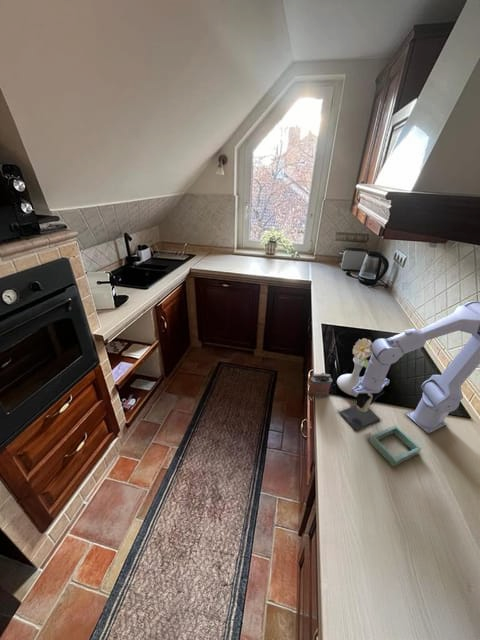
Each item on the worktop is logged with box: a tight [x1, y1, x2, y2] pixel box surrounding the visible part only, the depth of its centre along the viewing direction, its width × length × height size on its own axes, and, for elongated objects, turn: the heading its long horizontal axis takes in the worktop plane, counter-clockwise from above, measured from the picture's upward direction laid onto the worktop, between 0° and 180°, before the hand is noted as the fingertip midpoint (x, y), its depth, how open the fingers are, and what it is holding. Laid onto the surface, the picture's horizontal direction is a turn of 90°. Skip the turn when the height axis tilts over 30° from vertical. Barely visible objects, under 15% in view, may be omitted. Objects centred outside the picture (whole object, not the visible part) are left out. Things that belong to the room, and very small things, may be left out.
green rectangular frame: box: [369, 425, 422, 467], centre depth 79 cm, size 11×9×2 cm
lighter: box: [307, 372, 333, 398], centre depth 95 cm, size 8×3×10 cm, turn 92°
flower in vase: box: [336, 337, 373, 397], centre depth 94 cm, size 13×11×25 cm
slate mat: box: [339, 404, 381, 431], centre depth 89 cm, size 11×8×1 cm
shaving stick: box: [357, 393, 373, 412], centre depth 85 cm, size 3×3×6 cm
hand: (363, 404), depth 86 cm, fingers closed on shaving stick, 3 cm apart
